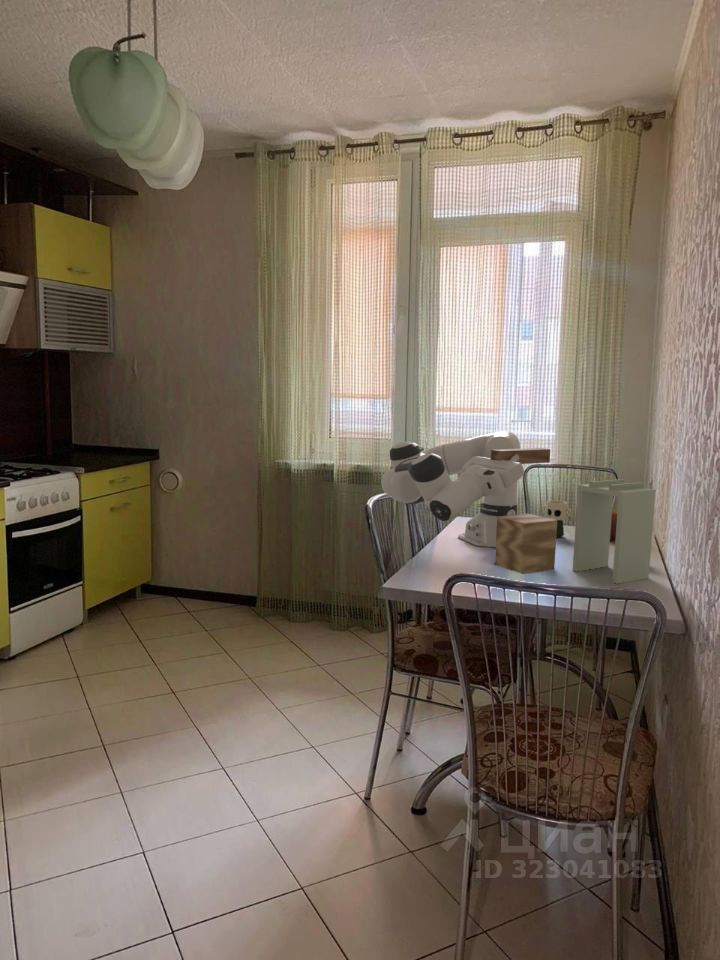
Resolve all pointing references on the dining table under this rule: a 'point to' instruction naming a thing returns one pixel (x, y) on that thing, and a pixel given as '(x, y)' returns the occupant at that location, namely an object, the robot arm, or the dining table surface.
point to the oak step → (525, 543)
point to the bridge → (629, 529)
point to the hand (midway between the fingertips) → (510, 455)
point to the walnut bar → (523, 455)
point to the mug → (613, 525)
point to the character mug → (557, 513)
